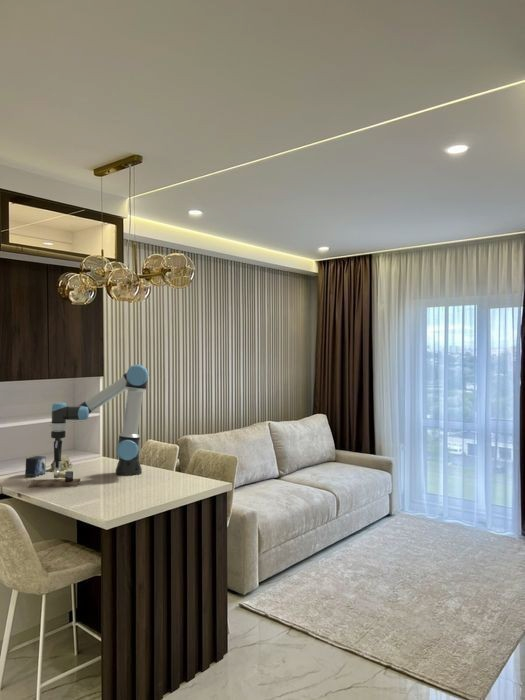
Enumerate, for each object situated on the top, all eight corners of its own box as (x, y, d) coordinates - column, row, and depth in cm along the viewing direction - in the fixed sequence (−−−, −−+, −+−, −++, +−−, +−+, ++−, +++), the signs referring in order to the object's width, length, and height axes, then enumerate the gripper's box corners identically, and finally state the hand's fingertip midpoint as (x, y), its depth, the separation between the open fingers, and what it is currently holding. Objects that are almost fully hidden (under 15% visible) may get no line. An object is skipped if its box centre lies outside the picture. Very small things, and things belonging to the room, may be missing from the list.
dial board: (80, 481, 293) (80, 478, 294) (77, 486, 281) (77, 483, 281) (33, 482, 289) (33, 479, 289) (28, 487, 276) (28, 484, 276)
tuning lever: (74, 480, 287) (74, 471, 287) (69, 481, 284) (69, 472, 284) (57, 478, 292) (57, 469, 292) (51, 479, 288) (51, 470, 289)
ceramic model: (62, 472, 319) (62, 455, 319) (45, 471, 321) (46, 454, 321) (75, 468, 332) (75, 451, 333) (59, 467, 335) (59, 451, 335)
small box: (34, 477, 301) (35, 459, 302) (24, 477, 302) (25, 458, 303) (46, 474, 312) (46, 456, 312) (36, 473, 313) (36, 455, 313)
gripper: (53, 429, 304) (52, 471, 303) (49, 432, 291) (47, 475, 290) (67, 429, 306) (66, 470, 305) (63, 431, 293) (62, 475, 292)
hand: (57, 473), depth 298 cm, fingers closed
